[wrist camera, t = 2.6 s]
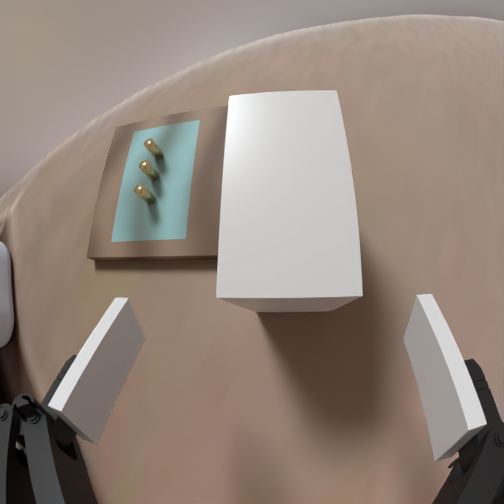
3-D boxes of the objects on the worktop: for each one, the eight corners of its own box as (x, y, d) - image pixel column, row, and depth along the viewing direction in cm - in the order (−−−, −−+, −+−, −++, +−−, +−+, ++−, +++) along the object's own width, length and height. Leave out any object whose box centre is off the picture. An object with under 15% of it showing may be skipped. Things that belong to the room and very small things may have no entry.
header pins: (163, 151, 28) (153, 137, 25) (155, 204, 26) (142, 193, 24) (155, 152, 28) (144, 139, 25) (145, 205, 26) (133, 194, 24)
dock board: (231, 113, 29) (228, 106, 28) (222, 258, 25) (218, 255, 24) (121, 132, 31) (116, 127, 30) (94, 260, 27) (87, 257, 26)
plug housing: (324, 185, 25) (336, 90, 14) (330, 311, 23) (362, 295, 11) (258, 187, 26) (229, 96, 15) (256, 312, 24) (216, 297, 12)
